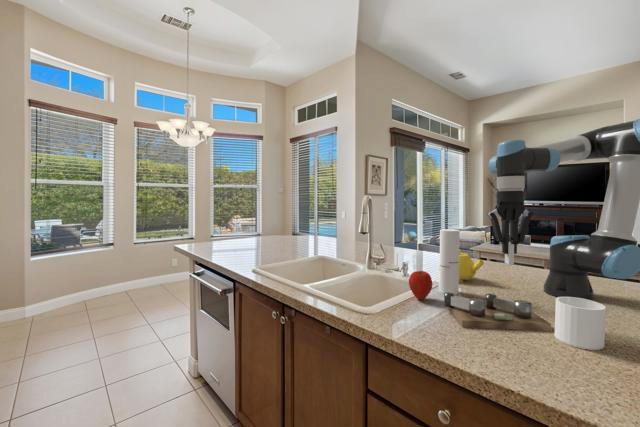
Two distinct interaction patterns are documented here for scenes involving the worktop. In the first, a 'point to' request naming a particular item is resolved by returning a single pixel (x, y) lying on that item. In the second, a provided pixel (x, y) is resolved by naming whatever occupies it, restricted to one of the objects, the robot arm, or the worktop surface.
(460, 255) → the teapot
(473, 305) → the knob
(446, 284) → the cylindrical container
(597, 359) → the worktop surface
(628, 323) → the worktop surface
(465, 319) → the levelling board
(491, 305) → the knob
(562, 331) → the mug
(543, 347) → the worktop surface
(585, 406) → the worktop surface
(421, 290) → the apple
